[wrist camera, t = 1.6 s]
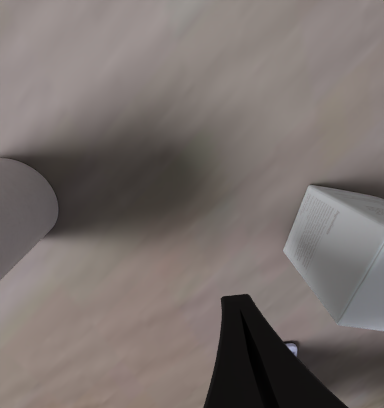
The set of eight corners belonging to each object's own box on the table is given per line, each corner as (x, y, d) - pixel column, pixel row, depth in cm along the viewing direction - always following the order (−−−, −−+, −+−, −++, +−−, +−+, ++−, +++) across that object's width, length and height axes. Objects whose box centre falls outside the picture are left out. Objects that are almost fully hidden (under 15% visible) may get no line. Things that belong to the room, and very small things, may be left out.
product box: (279, 250, 18) (334, 327, 12) (307, 181, 16) (393, 226, 9) (346, 261, 19) (436, 341, 12) (381, 196, 17) (515, 248, 10)
